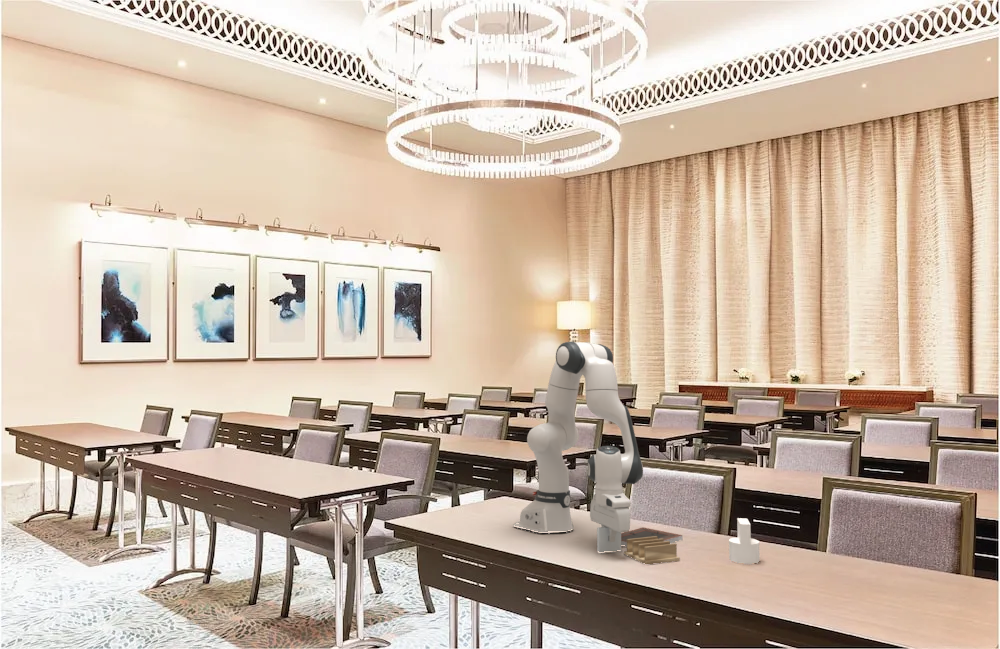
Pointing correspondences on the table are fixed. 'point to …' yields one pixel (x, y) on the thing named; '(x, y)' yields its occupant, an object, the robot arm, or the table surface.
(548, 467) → the robot arm
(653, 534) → the picture frame
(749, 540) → the cylinder with rectangular tab
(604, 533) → the grey block
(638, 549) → the rack
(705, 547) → the table surface
